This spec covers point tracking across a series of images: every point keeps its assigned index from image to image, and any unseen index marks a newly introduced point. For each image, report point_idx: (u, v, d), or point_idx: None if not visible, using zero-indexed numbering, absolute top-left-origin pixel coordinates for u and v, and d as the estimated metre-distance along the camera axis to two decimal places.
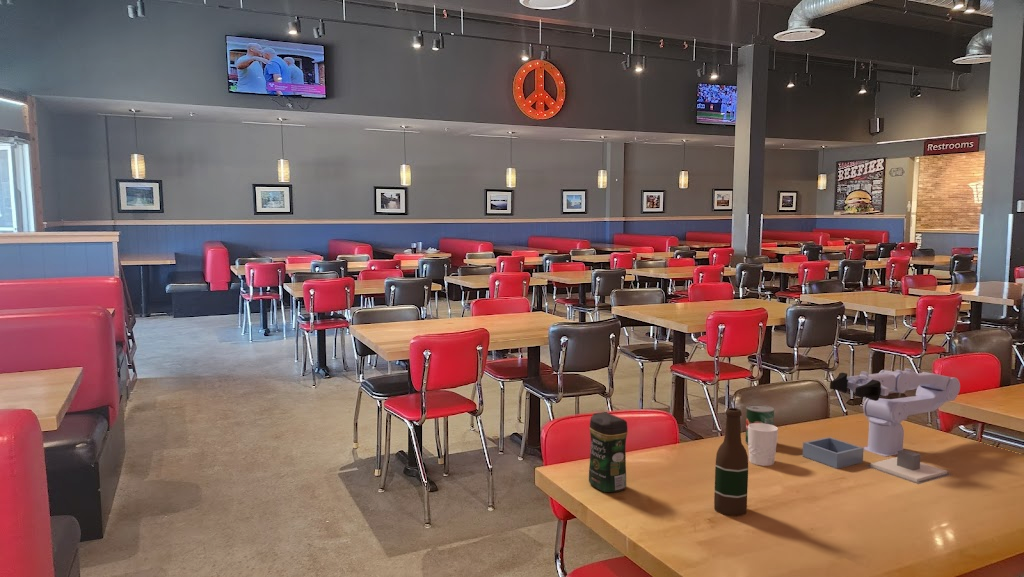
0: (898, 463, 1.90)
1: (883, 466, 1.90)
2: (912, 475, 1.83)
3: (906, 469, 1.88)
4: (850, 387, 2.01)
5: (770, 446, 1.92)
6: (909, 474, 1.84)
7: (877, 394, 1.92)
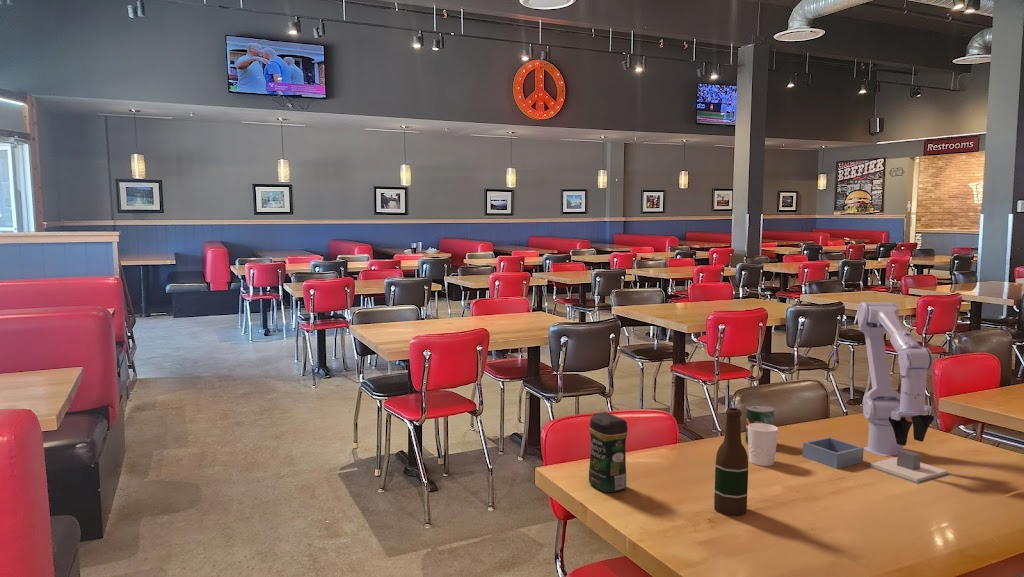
0: (898, 463, 1.90)
1: (883, 466, 1.90)
2: (912, 475, 1.83)
3: (906, 469, 1.88)
4: None
5: (770, 446, 1.92)
6: (909, 474, 1.84)
7: None
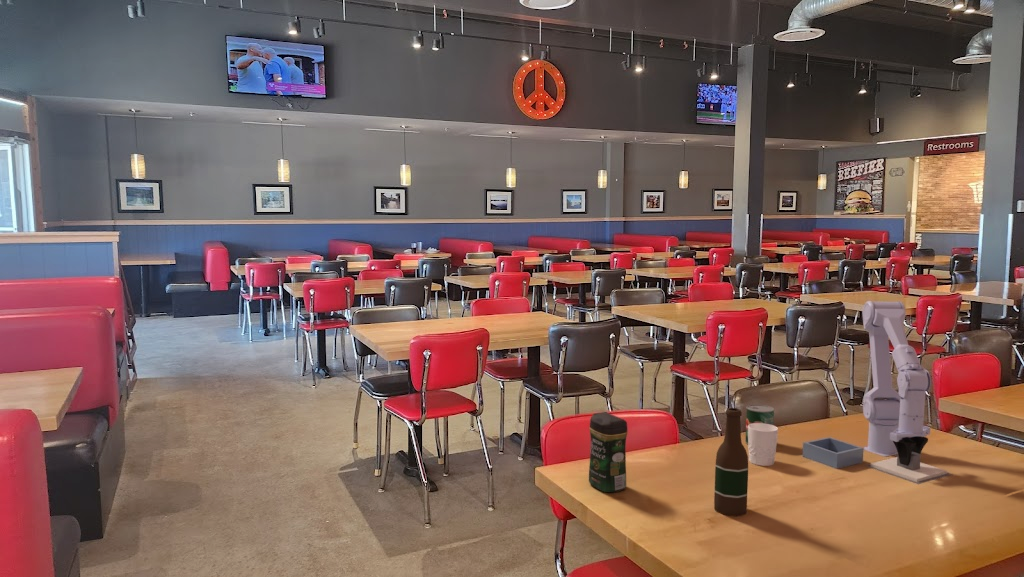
0: (898, 463, 1.90)
1: (883, 466, 1.90)
2: (912, 475, 1.83)
3: (906, 469, 1.88)
4: None
5: (770, 446, 1.92)
6: (909, 474, 1.84)
7: None
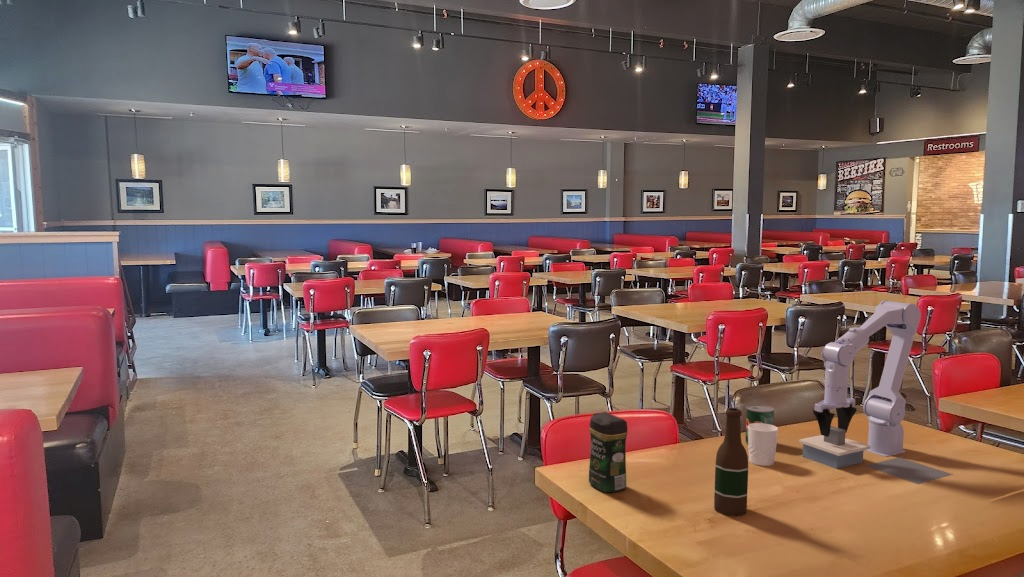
0: (825, 439, 1.98)
1: (810, 442, 1.97)
2: (835, 450, 1.91)
3: (831, 444, 1.95)
4: None
5: (770, 446, 1.92)
6: (833, 449, 1.91)
7: None
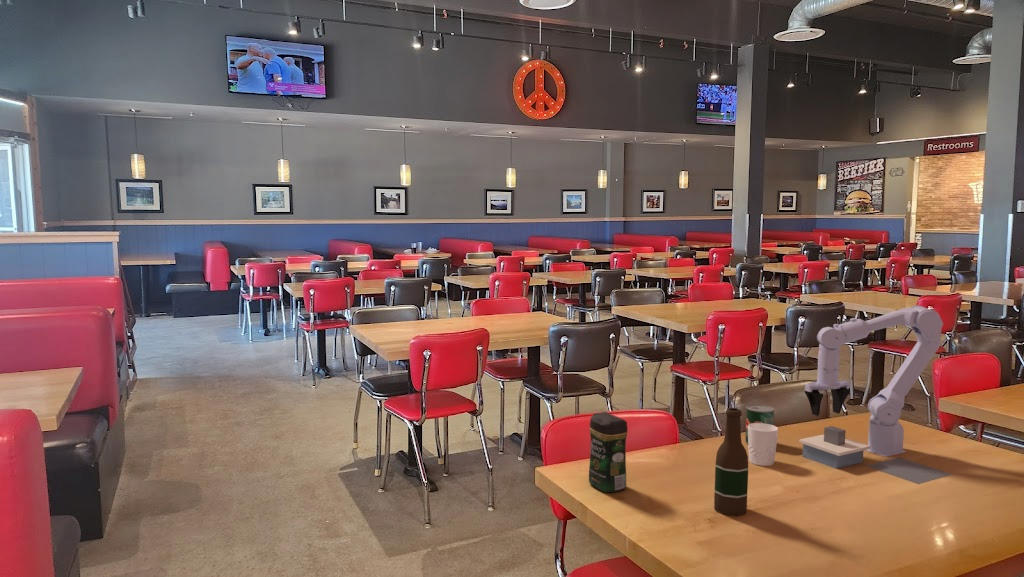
0: (825, 439, 1.98)
1: (810, 442, 1.97)
2: (835, 450, 1.91)
3: (831, 444, 1.95)
4: None
5: (770, 446, 1.92)
6: (833, 449, 1.91)
7: None
